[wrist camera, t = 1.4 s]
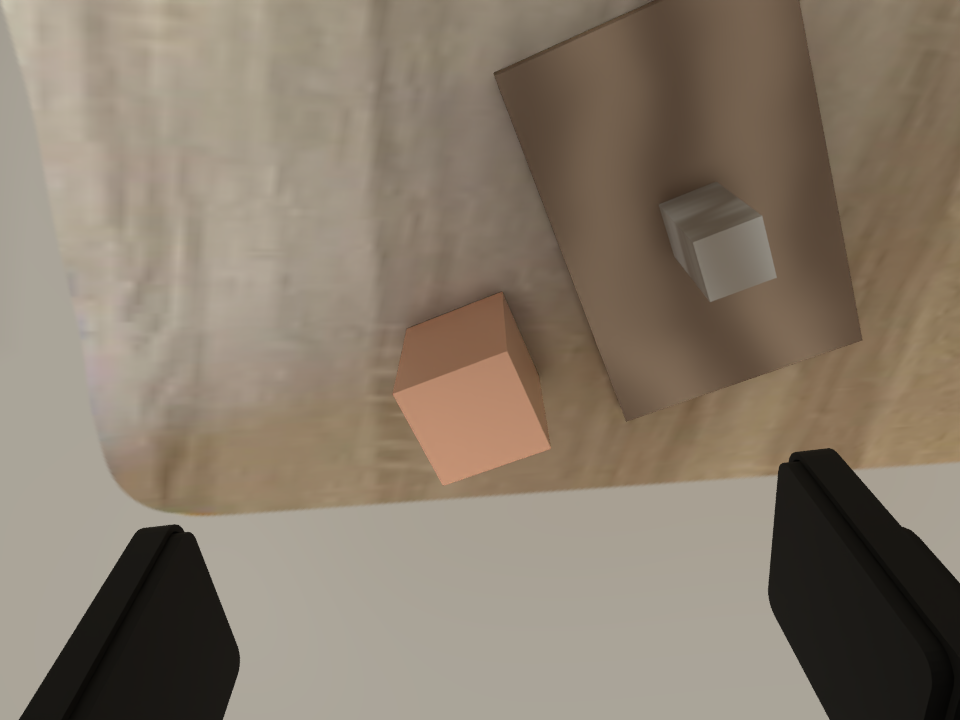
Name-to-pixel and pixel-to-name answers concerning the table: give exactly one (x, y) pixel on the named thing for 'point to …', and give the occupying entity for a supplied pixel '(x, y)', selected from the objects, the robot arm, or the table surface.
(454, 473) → the salmon orange block
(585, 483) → the table surface
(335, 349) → the table surface
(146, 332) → the table surface
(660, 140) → the flat brown rectangular board
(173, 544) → the robot arm
